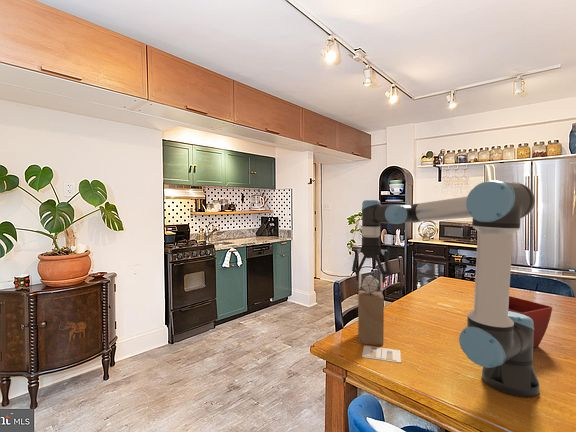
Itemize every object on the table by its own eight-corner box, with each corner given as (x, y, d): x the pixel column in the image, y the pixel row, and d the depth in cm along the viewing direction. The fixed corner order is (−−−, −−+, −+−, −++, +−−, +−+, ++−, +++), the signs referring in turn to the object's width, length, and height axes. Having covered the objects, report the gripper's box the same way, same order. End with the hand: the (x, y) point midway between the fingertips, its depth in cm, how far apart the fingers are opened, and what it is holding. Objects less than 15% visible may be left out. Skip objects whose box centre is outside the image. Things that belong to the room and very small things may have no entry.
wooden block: (383, 345, 128) (383, 297, 128) (358, 343, 130) (358, 296, 130) (381, 336, 138) (381, 291, 137) (358, 334, 140) (358, 290, 139)
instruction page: (400, 362, 114) (400, 362, 114) (361, 357, 119) (361, 356, 119) (400, 350, 124) (400, 350, 124) (364, 345, 128) (364, 345, 128)
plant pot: (475, 337, 137) (476, 299, 136) (505, 330, 144) (506, 294, 143) (521, 356, 119) (522, 313, 118) (553, 348, 126) (554, 307, 125)
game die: (368, 302, 133) (353, 286, 131) (370, 289, 140) (355, 274, 138) (385, 294, 128) (369, 277, 127) (387, 281, 135) (371, 265, 134)
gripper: (396, 236, 133) (396, 288, 134) (347, 234, 140) (347, 285, 140) (397, 237, 126) (396, 293, 127) (344, 236, 133) (344, 289, 133)
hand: (370, 289), depth 134 cm, fingers closed on game die, 8 cm apart
